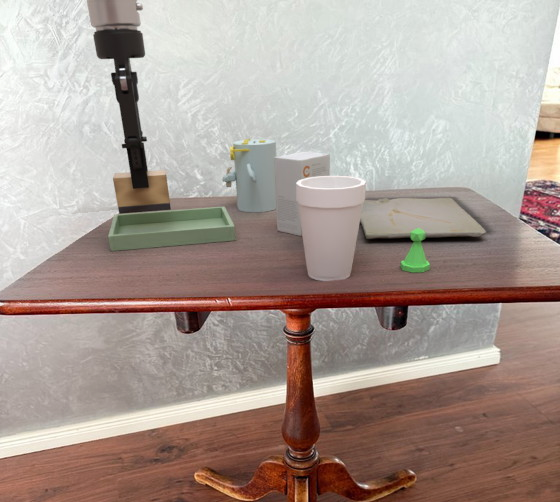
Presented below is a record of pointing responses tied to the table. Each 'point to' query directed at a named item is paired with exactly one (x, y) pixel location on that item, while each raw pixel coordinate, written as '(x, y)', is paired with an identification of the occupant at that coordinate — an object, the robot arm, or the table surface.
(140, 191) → the eraser
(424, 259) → the game piece
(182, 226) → the tray
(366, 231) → the decorative slab
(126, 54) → the robot arm
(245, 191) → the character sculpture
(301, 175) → the small box
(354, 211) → the foam cup
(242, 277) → the table surface
